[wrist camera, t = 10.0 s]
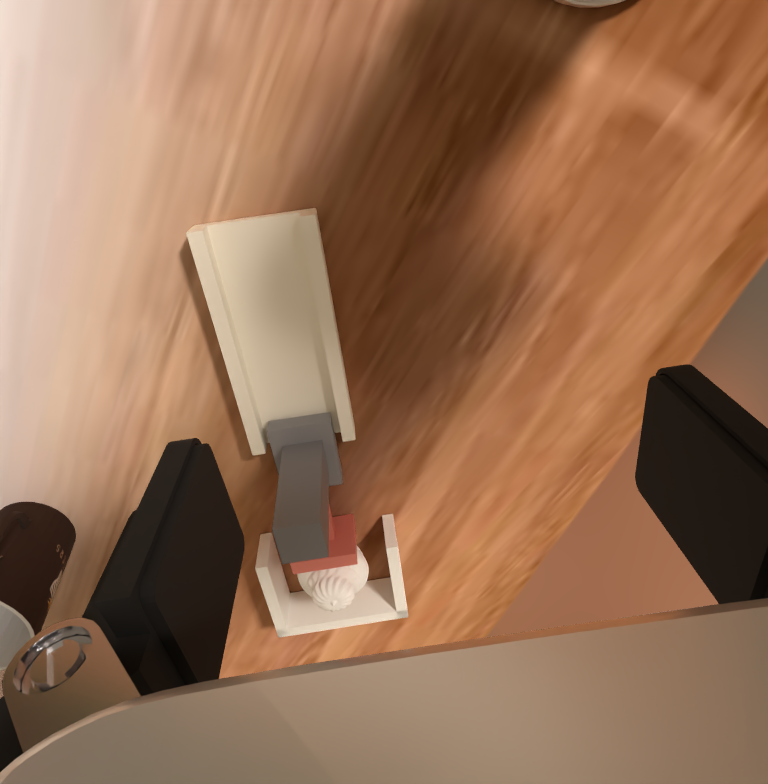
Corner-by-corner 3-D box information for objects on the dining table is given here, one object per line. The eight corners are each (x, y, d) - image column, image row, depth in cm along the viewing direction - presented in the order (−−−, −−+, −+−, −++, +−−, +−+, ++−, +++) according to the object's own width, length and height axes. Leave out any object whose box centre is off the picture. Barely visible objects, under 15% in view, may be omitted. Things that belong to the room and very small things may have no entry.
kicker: (332, 411, 42) (334, 501, 33) (355, 523, 47) (361, 625, 38) (265, 421, 41) (248, 514, 32) (296, 532, 47) (288, 637, 38)
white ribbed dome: (310, 511, 48) (307, 573, 42) (375, 525, 49) (382, 586, 43) (291, 560, 50) (286, 625, 44) (354, 572, 52) (357, 636, 46)
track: (316, 207, 35) (315, 214, 33) (354, 424, 44) (355, 439, 42) (193, 225, 35) (185, 232, 33) (256, 439, 43) (252, 455, 42)
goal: (392, 513, 49) (397, 546, 45) (403, 582, 53) (408, 617, 50) (260, 534, 48) (255, 568, 45) (281, 601, 53) (278, 637, 49)
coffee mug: (49, 581, 49) (-12, 687, 40) (-43, 529, 45) (-132, 634, 37) (134, 513, 46) (89, 612, 37) (43, 452, 42) (-31, 546, 34)
